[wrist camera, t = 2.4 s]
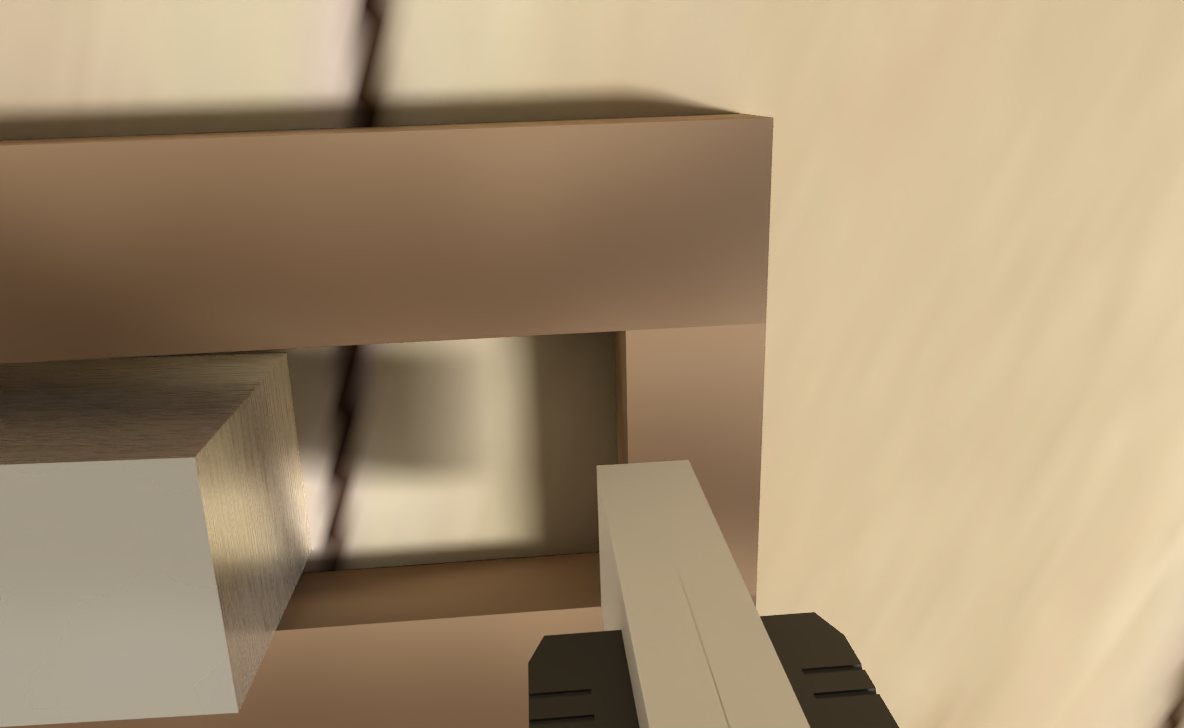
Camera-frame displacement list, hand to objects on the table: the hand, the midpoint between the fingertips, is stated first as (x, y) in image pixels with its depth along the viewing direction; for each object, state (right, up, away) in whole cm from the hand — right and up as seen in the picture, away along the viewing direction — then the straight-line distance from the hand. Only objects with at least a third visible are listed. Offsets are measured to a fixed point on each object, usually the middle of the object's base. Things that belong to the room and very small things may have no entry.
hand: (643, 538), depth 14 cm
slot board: (-7, +1, +3) cm, 8 cm away
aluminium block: (-11, +1, +3) cm, 11 cm away
